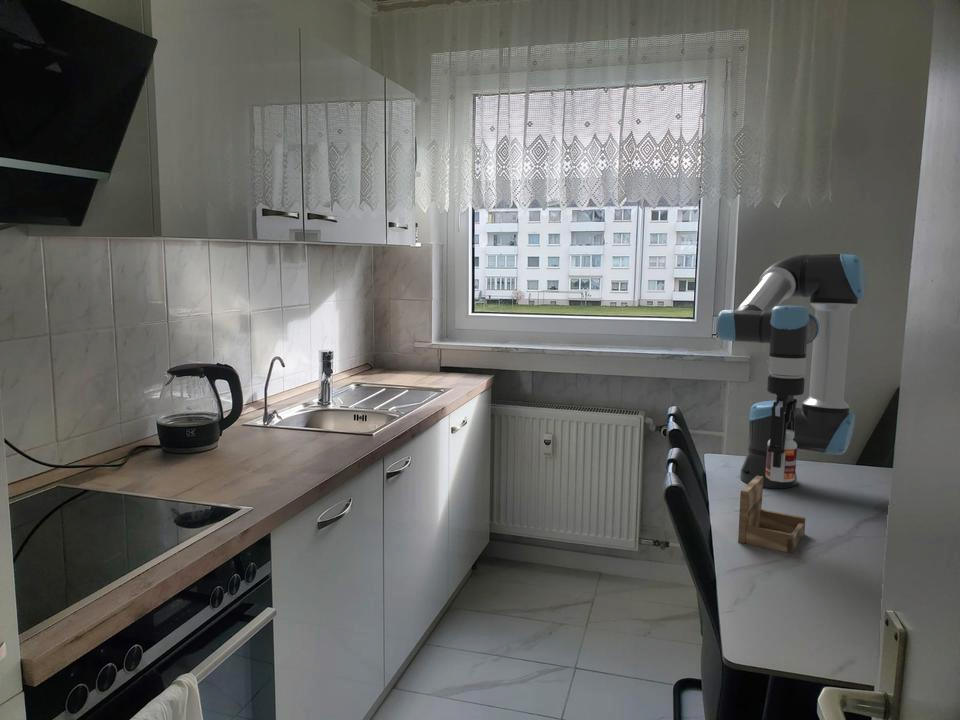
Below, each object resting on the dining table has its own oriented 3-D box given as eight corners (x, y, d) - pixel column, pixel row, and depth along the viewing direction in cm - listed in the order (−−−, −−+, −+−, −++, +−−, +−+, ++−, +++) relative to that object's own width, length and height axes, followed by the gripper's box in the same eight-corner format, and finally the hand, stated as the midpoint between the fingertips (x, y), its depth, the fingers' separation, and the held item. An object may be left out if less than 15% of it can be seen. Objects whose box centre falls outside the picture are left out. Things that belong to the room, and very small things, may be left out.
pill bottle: (784, 484, 158) (787, 435, 156) (759, 477, 163) (762, 429, 162) (800, 479, 161) (803, 431, 160) (776, 473, 166) (779, 426, 165)
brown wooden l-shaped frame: (754, 523, 174) (756, 475, 172) (804, 533, 167) (807, 483, 166) (738, 542, 162) (740, 490, 161) (791, 553, 156) (794, 500, 154)
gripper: (778, 369, 169) (773, 465, 172) (757, 379, 153) (751, 484, 156) (813, 372, 165) (806, 470, 168) (795, 382, 149) (788, 490, 152)
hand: (780, 476), depth 162 cm, fingers closed on pill bottle, 6 cm apart
